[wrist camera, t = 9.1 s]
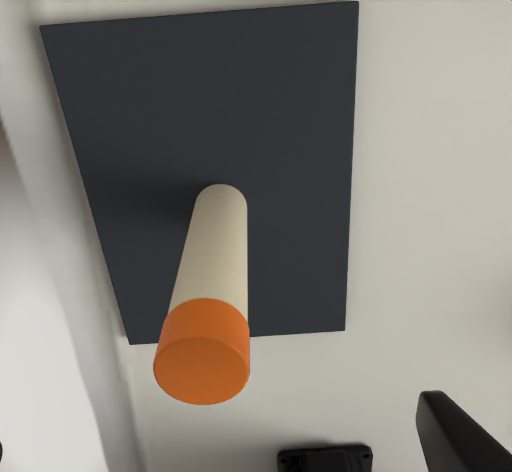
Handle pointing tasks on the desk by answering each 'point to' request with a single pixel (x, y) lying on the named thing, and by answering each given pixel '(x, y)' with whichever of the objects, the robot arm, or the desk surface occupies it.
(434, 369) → the desk surface
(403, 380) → the desk surface
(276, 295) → the mat
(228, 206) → the glue stick
